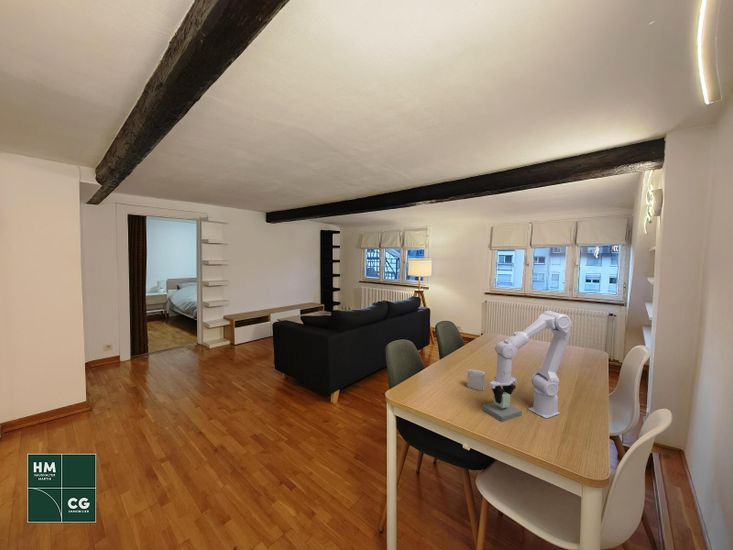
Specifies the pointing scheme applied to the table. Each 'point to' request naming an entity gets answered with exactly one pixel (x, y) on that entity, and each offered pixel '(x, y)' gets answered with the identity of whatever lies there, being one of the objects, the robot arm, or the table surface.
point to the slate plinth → (501, 411)
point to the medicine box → (476, 379)
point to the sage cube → (504, 400)
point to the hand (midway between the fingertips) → (502, 401)
